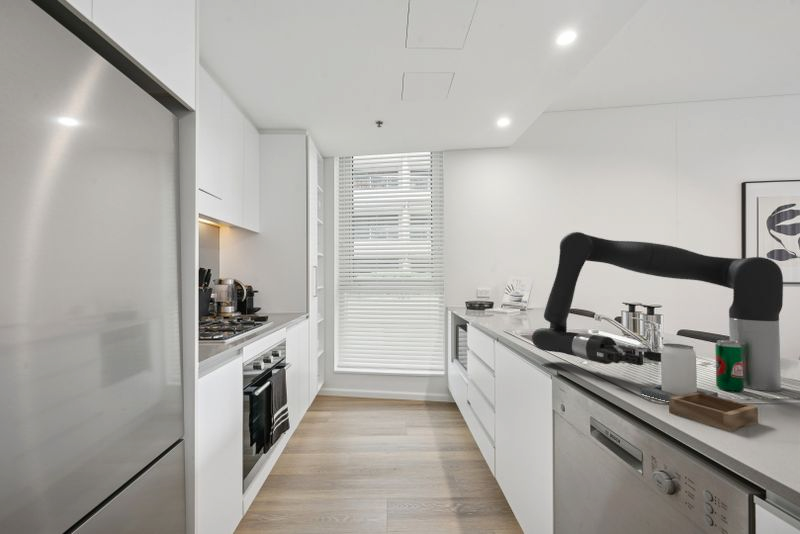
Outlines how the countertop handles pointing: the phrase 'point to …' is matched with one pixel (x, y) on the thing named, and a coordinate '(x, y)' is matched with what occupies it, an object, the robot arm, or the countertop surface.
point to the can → (678, 369)
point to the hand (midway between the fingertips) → (653, 359)
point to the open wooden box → (714, 411)
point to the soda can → (729, 366)
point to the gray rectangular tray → (659, 394)
